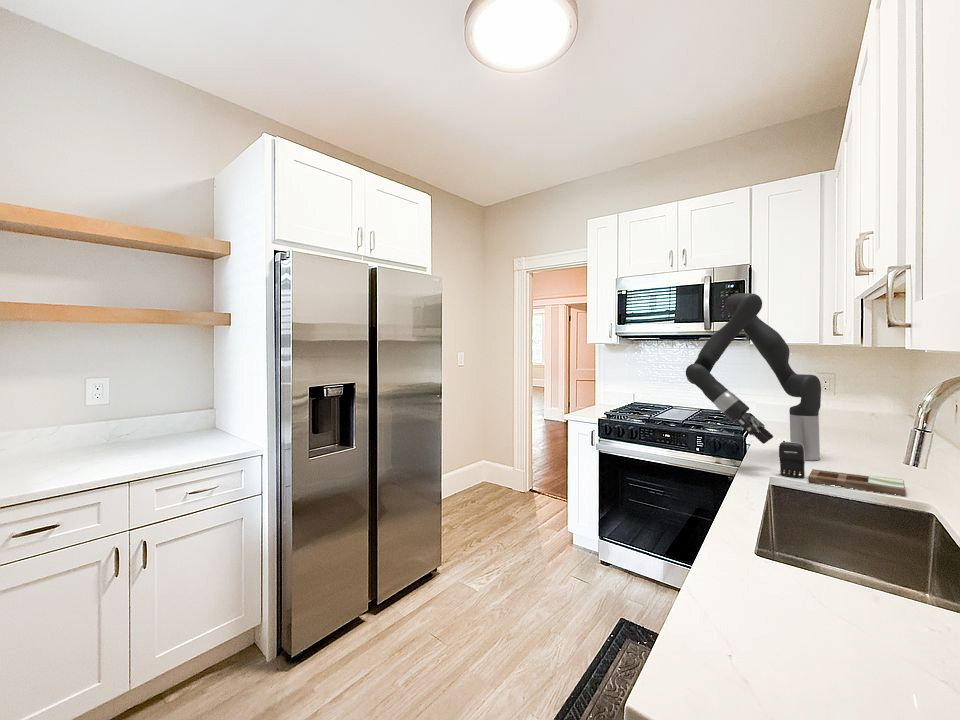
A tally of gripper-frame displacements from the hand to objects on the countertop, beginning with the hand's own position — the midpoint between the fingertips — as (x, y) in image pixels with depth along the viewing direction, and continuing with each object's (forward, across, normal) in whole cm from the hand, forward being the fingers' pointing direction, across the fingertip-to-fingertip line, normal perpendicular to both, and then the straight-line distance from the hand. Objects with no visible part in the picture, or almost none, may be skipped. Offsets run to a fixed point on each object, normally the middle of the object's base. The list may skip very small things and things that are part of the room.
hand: (768, 440), depth 148 cm
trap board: (+24, 0, -8) cm, 25 cm away
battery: (+13, 0, +4) cm, 13 cm away
